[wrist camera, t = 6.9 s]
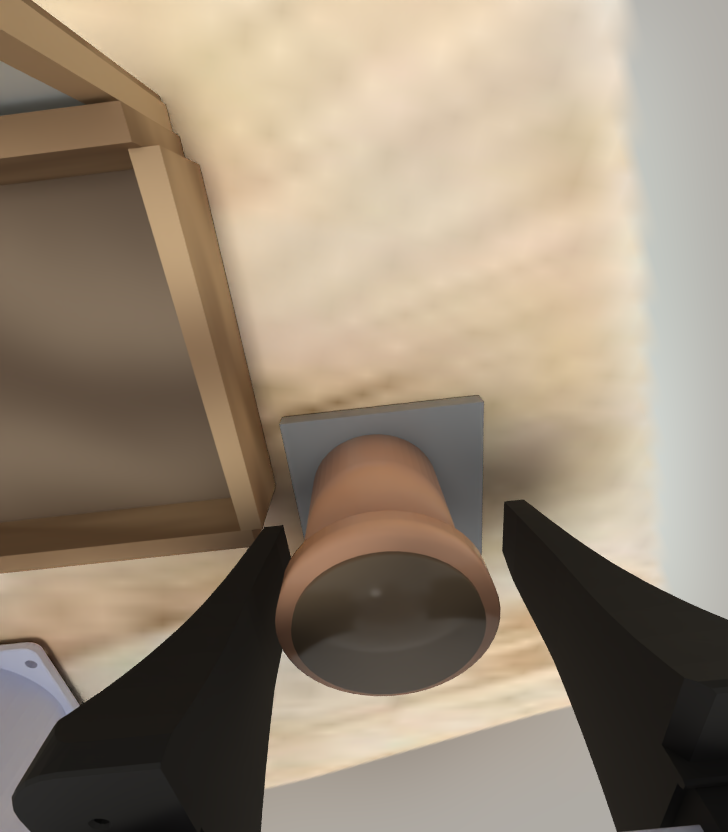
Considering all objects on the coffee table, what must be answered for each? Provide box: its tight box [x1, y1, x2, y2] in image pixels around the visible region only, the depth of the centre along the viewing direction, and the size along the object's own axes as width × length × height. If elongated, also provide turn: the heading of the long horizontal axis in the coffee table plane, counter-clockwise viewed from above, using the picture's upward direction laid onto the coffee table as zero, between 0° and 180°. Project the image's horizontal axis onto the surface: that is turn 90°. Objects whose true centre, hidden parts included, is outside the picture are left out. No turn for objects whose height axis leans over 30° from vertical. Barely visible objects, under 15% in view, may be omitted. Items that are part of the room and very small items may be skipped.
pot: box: [275, 434, 500, 696], centre depth 12 cm, size 5×5×6 cm
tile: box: [279, 395, 484, 556], centre depth 15 cm, size 7×7×1 cm
